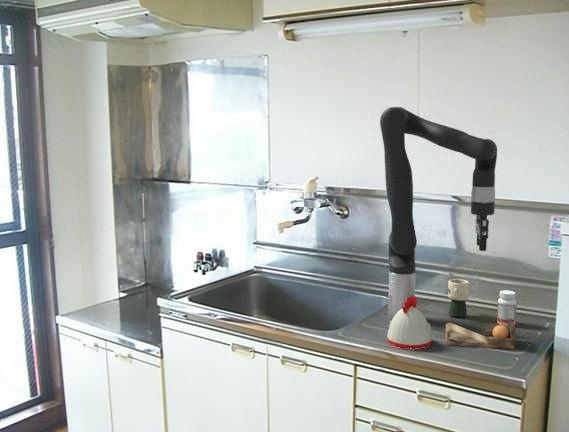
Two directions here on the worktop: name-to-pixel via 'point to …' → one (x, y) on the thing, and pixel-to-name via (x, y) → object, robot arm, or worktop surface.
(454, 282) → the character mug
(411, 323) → the white dome
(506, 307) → the pill bottle
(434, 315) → the worktop surface
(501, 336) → the ball
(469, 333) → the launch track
